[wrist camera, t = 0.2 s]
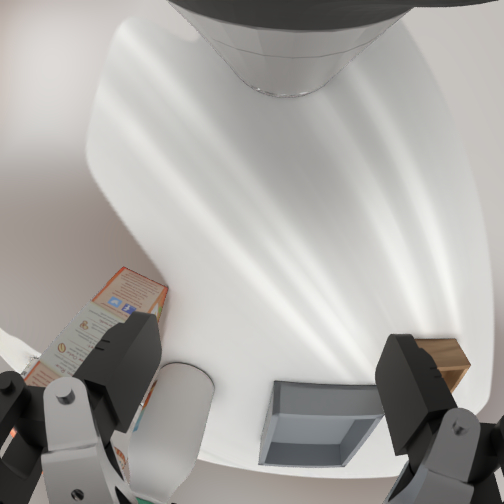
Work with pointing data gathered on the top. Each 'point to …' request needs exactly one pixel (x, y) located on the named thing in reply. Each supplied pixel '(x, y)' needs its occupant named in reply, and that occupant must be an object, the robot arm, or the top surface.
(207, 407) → the milk bottle
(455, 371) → the wood crate
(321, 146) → the top surface
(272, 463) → the grey bin
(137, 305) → the cracker box
